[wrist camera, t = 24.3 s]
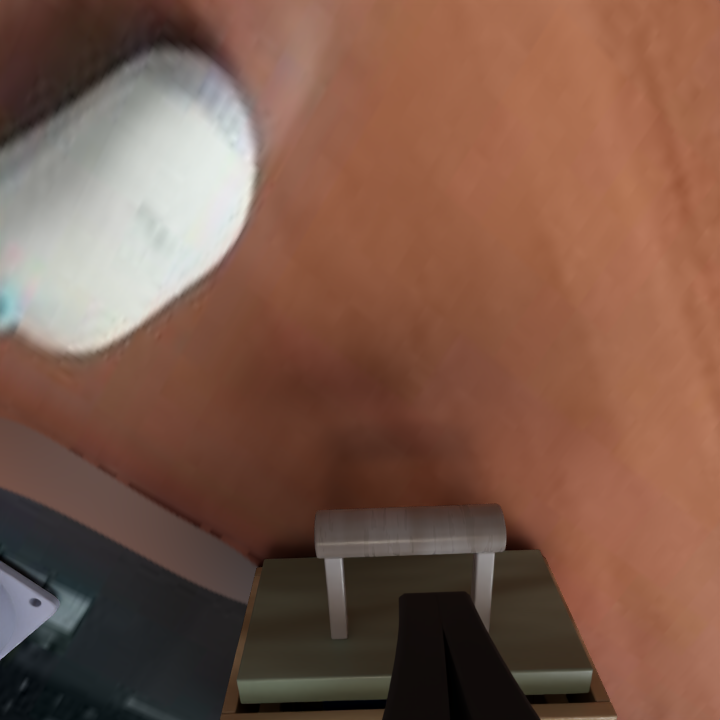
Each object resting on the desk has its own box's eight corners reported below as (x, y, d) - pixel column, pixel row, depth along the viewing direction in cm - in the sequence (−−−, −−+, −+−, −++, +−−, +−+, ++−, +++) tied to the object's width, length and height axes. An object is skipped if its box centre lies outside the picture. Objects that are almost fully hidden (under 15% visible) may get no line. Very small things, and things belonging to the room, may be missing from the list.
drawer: (248, 453, 20) (211, 557, 15) (552, 442, 20) (618, 543, 15) (291, 746, 27) (275, 885, 22) (517, 739, 27) (555, 878, 22)
